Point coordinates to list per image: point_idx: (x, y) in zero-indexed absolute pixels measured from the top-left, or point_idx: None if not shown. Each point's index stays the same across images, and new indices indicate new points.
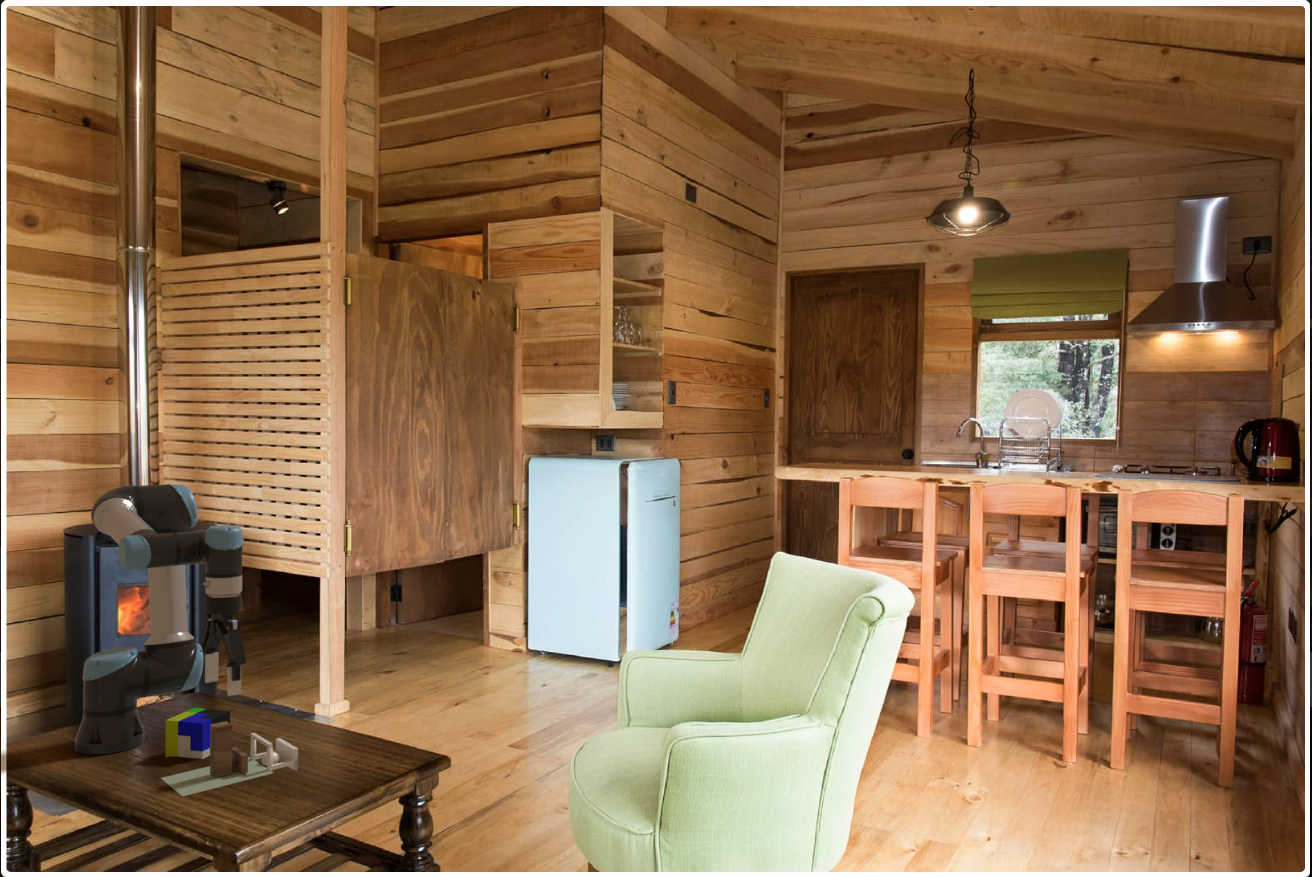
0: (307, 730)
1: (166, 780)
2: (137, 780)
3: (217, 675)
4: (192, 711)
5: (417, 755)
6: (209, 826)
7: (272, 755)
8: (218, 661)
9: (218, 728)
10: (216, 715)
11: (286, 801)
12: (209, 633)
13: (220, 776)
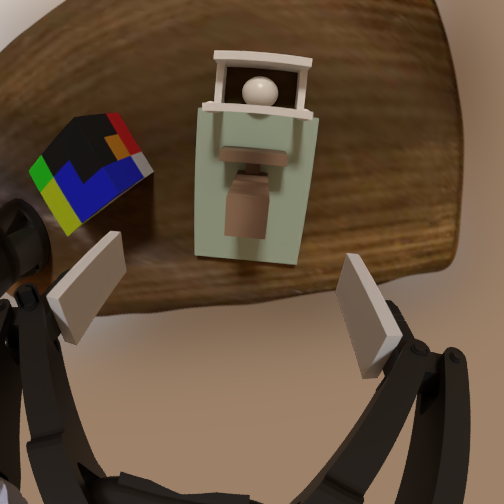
0: None
1: (211, 253)
2: (157, 262)
3: (110, 244)
4: (43, 181)
5: None
6: (390, 267)
7: (271, 93)
8: (81, 274)
9: (265, 233)
10: (85, 151)
11: (409, 162)
12: (10, 405)
13: None
